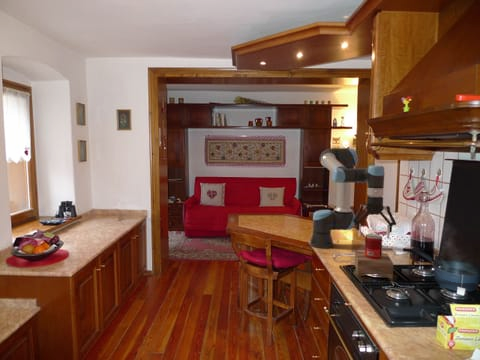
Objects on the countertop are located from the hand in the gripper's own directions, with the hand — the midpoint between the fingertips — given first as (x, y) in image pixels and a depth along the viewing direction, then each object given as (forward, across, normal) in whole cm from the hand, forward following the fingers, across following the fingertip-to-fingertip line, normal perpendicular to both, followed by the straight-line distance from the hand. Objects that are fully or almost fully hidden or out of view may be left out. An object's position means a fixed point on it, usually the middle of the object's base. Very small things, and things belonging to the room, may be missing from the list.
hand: (373, 237), depth 163 cm
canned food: (+10, 0, 0) cm, 10 cm away
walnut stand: (+18, 0, 0) cm, 18 cm away
